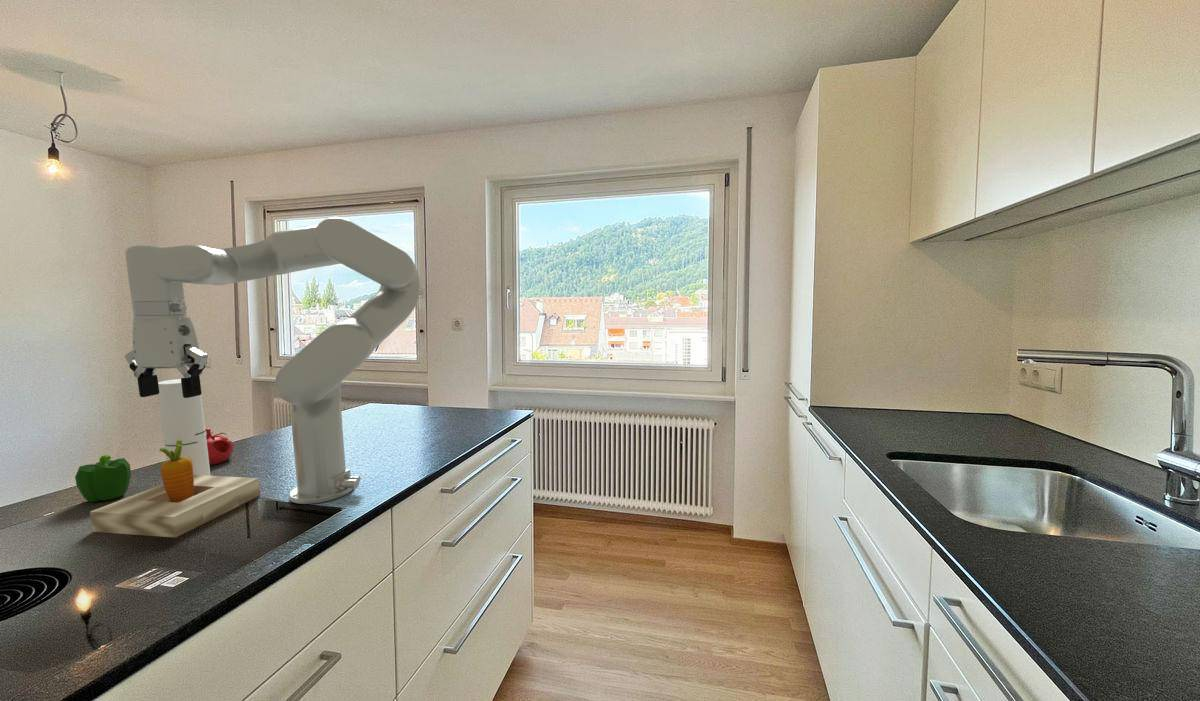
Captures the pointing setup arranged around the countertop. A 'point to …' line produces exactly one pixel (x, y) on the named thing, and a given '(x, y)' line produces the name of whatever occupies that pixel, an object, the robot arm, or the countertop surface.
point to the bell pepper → (104, 479)
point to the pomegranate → (218, 447)
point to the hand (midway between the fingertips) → (171, 396)
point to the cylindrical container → (184, 424)
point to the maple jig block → (174, 507)
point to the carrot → (177, 474)
